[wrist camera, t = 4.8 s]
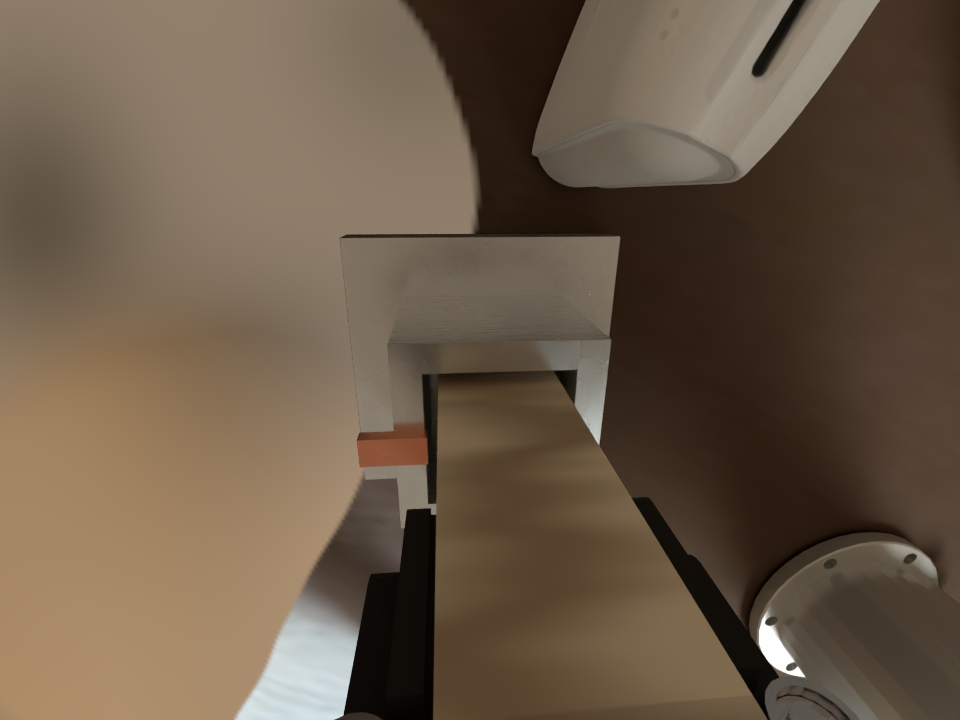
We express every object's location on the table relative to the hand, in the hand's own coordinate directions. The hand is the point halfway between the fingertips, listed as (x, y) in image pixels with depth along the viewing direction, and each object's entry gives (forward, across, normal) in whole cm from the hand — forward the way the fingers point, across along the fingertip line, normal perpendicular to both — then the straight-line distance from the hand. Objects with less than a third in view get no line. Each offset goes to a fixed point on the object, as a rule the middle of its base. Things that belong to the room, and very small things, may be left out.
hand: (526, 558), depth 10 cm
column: (+9, 0, 0) cm, 9 cm away
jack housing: (+13, 0, 0) cm, 13 cm away
